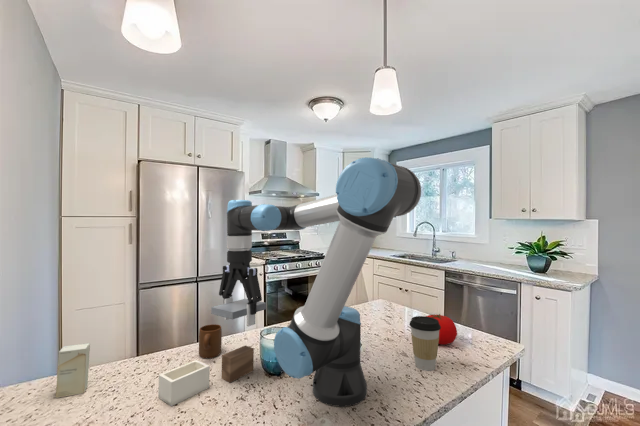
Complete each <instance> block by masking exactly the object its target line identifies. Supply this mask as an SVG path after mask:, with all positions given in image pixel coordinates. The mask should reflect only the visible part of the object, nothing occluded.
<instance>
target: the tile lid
mask: <svg viewBox="0 0 640 426" xmlns="http://www.w3.org/2000/svg"><path fill="white" fill-rule="evenodd" d="M248 302H249V301H248V299H247V298H242V299H238V300H233V302H230V303H226V304H224V303H223V304H219V305H215V306H211V307H210V308H211V310H210V311H211V315H215V316H218V317H221V318H224V317H225V318H229V319H228V320H235V319H240V318H242V317H245V316H246V317H247V303H248ZM264 310H267V302H264V301H259V302H257V304H256V313H258V312H262V311H264Z"/></svg>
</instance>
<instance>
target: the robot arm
mask: <svg viewBox="0 0 640 426" xmlns="http://www.w3.org/2000/svg"><path fill="white" fill-rule="evenodd" d="M335 185H336V186H335V194H334V195H329V196H326V197H322V198H318V199H314V200H311V201H306V202H303V203H299V204H297V205H292V206H291V205H290V206H281V205H274V204H270V203H268V204H267V203H261V204H258V205H257V204H256V205H253V204H252V203H253V202H252V201H251V200H248V199H247V200H246V199H231V200H229V201H228V203H227V210H226V231H227V236H226V249H228V250H227V252H226V262H227V263H228V265H223V266H222V275H221V281H220V285H219V291H218V295H219V296H220V297H221V296H222V298H223V304H226V303H230V302H234V298H233V294H232V293H233V292H234V289H235V286H236V284H237V282H238V281H239V282H240V283H241V284H242V286H243V290H244V292H245V293H244V294H245V295H246V299H248V301H249V302H248V303H247V315H246V326H247V327H251V326H254V325H256V314H257V312H256V304H257V302H259V301H260V302H263V301H262V300H263V298H262V292H261V288H260V282H259V277H258V270H259V269H258V268H257V267H253V268H252V267H251V265H250V263H252V261H253V251H252V250H251V249H252V247H253V241H252V240H253V232H252V231H259V232H269V231H301V230H305V229H306V228H309V227H314V226H319V225H324V224H325V225H327V224H329V223H330V224H331V223H336V222H338V225H337V226H336V230H335V231H334V233H333V236H332V239H331V241H330V244H329V245H328V249H327V251H326V254H325V256H324V258H323V261H322V263H321V264H320V265H321V266H320V268H319V270H318V272H317V275H316V277H315V280H314V281H313V283H312V287H311V289H310V292H309V293H308V296H307V299H306V302H305V303H304V305H303V306H299V307H298V308H296V310H295V311H294V313H293V316H292V319H291V321H290V323H289V325H288V326H285V327H284V326H283V327H282V328H281V329H279V330H278V331H277V332H276V333H275V336H274V341H273V349H274V350H273V351H274V353H275V357H276V361H277V362H278V365H279V366H280V368H281V369H282V371H283V372H284V373H285V374H286V375H288V376H289V377H291V378H293V379H302V378H305V377H308V376H310V375H312V374H313V373H314V376H313V379H312V395H313V396H314V397H315V398H316V399H317V400H318V401H319V402H321V403H323V404H325V405H328V406H334V407H351V406H354V405H357V404H359V403H361V402H362V401H364V400H365V398H366V396H367V393H368V390H367V389H368V384H367V380H366V377H365V374H364V371H363V367H362V363H361V337H362V336H361V332H362V331H361V328H362V322H361V313H360V312H359V310H357V309H356V308H353V307H350V306H346V303H347V301H348V299H349V298H350V297H349V296H350V294H351V292H352V290H353V288H354V286H355V283H356V281H357V279H358V277H359V275H360V274H361V271H362V268H363V266H364V265H365V262H366V260H367V258H368V256H369V253H370V251H371V249H372V247H373V245H374V243H375V241H376V240H377V237H379V236H381V235H383V234H386V233H387V231H388V230H389V227H390V225H391V223H392V221H393V219H394V217H402V216H405V215H407V214H409V213H411V212H412V211H413V210H414V209H415V208H416V207H417V206H418V204H419V202H420V199H421V196H422V186H421V181H420V180H419V178H418V177H417V175H416V174H415V172H413V171H412V170H411V169H409V168H407V167H405V166H401V165H398V164H394V163H392V162H389V161H387V160H385V159H381V158H379V157H378V158H374V157H362V158H358V159H356V160H353V161H351V162H350V163H349V164H347V165H346V166H345V167H344V168H343V169H342V170H341V172H340V174H339V176H338V178H337V181H336V184H335ZM223 320H224V321H228V320H230V319H229V318H225V317H223Z"/></svg>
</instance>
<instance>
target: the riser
mask: <svg viewBox="0 0 640 426" xmlns="http://www.w3.org/2000/svg"><path fill="white" fill-rule="evenodd" d="M254 350H255V348H254V347H251V346H249V345H243V346H241V347H238V348H236V349H233V350H230V351H228V352H225V353H223V354H221V375H220V376H221V380H223V381H225V382H227V383H229V384H231V383H233V382H235V381H236V380H239V379H241V378H242V377H244V376H246V375H248V374H251V373H252V372H254V369H255V368H254V365H255V364H254V361H255V360H254V358H255V357H254V355H255V354H254V353H255V351H254Z"/></svg>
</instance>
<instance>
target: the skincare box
mask: <svg viewBox="0 0 640 426" xmlns="http://www.w3.org/2000/svg"><path fill="white" fill-rule="evenodd" d="M90 348H91V343H90V342H89V343H88V342H87V343H79V344H72V345H64V346H62V347H61V349H60V350H59V351H58V359H57V371H56V389H55V399H59V398H63V397H65V398H66V397H70V396H76V395H77V396H78V395H82V394H85V391H86V390H87V388H88V384H89V383H88V382H89V367H90V351H91V349H90Z"/></svg>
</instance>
